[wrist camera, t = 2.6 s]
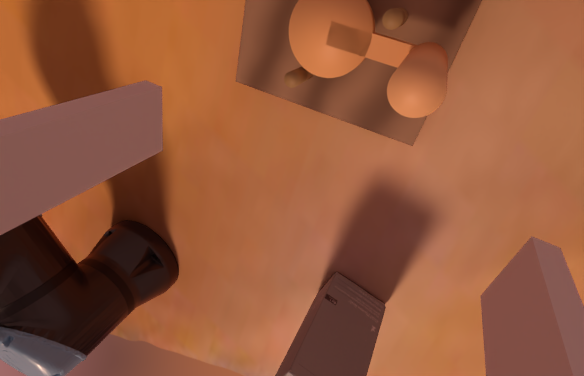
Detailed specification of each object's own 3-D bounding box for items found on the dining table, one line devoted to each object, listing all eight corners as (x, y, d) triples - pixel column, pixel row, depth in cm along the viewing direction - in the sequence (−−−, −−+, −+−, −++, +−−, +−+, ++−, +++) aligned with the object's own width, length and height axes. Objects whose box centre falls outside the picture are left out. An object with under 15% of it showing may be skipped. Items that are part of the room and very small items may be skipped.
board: (242, 78, 38) (213, 89, 33) (266, -102, 29) (232, -122, 24) (413, 140, 34) (408, 163, 29) (502, -48, 25) (515, -59, 20)
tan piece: (286, 61, 31) (223, 85, 22) (304, -27, 27) (236, -40, 18) (426, 109, 28) (415, 157, 19) (468, 18, 24) (479, 27, 15)
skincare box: (387, 303, 45) (362, 423, 32) (359, 327, 49) (328, 442, 36) (334, 267, 46) (289, 371, 33) (311, 294, 50) (264, 395, 37)
